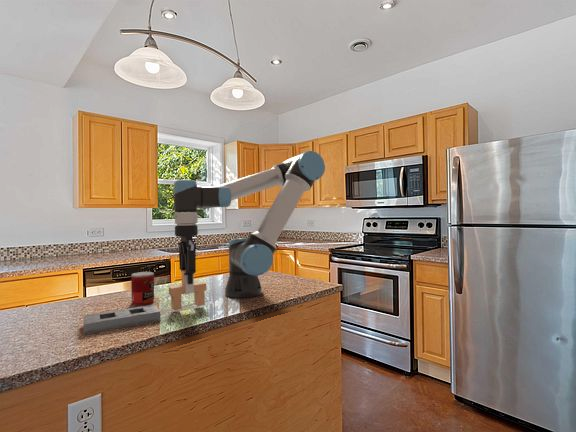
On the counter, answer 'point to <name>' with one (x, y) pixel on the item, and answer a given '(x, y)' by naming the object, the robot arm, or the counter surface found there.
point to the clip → (180, 289)
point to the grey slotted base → (120, 319)
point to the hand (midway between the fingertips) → (187, 291)
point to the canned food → (142, 288)
